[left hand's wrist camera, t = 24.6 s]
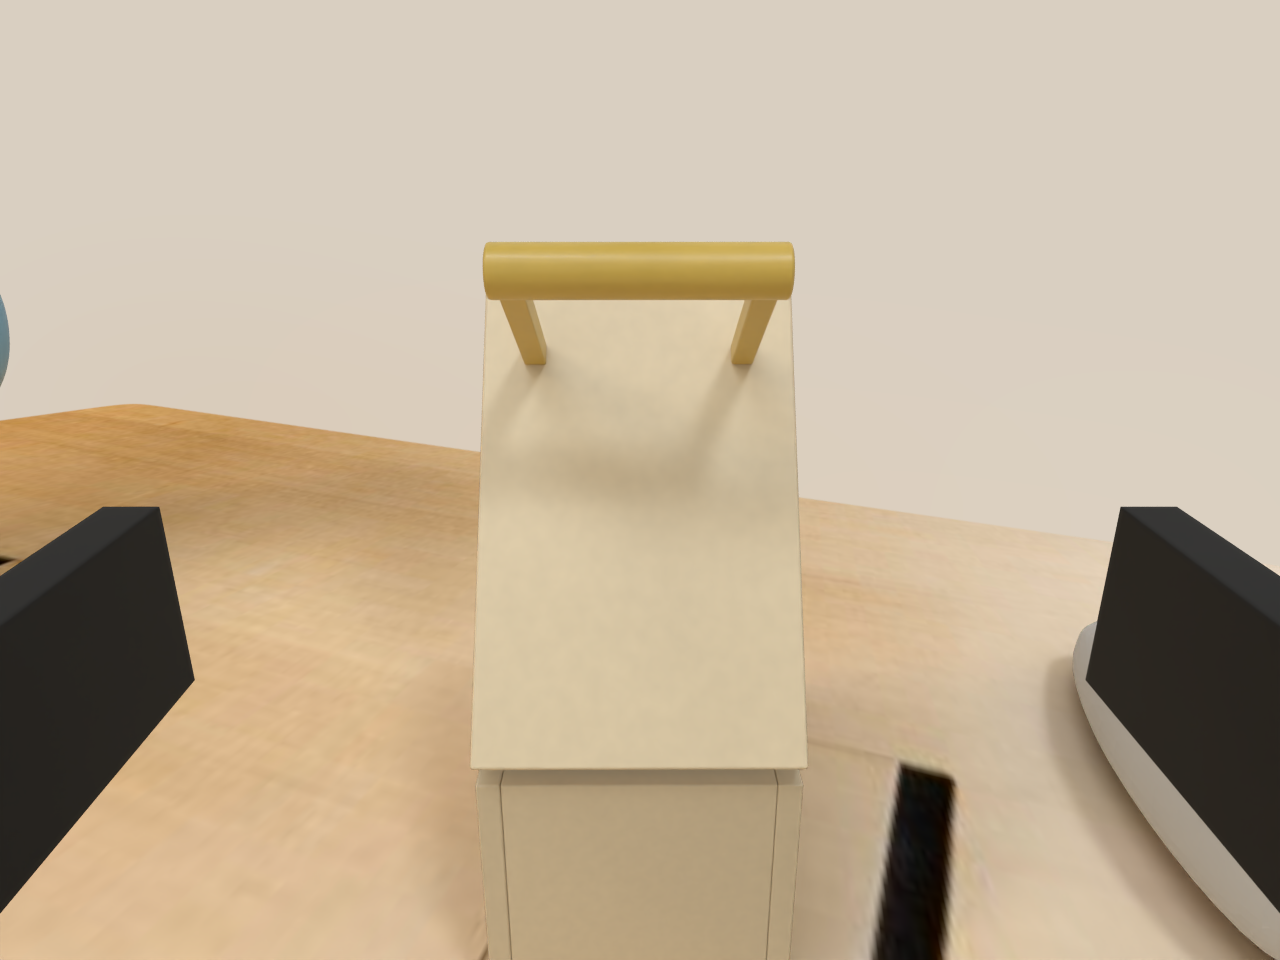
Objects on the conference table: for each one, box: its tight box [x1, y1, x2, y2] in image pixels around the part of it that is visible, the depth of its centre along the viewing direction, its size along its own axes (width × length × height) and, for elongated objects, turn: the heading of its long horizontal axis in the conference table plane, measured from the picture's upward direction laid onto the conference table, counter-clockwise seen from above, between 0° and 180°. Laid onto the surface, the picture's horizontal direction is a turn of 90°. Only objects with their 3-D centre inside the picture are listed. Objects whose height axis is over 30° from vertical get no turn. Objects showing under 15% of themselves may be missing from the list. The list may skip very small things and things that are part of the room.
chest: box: [475, 769, 803, 960], centre depth 36 cm, size 15×10×9 cm, turn 0°
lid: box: [470, 242, 808, 770], centre depth 25 cm, size 16×10×8 cm
